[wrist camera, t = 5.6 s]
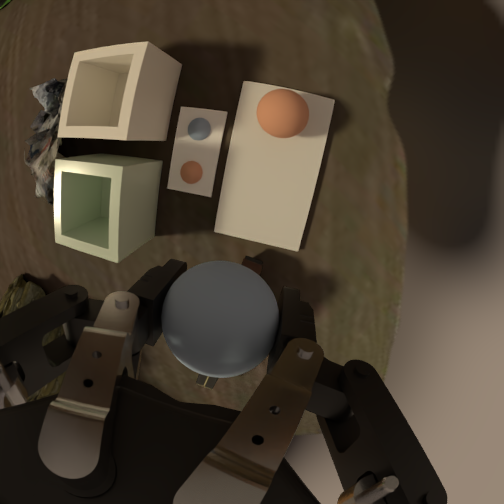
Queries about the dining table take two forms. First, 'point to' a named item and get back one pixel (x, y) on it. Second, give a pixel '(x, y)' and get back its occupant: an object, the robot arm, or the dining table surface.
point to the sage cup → (106, 203)
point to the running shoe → (3, 3)
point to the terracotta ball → (282, 113)
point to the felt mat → (271, 172)
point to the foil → (46, 137)
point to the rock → (23, 295)
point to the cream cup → (120, 93)
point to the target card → (196, 150)
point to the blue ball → (220, 319)
